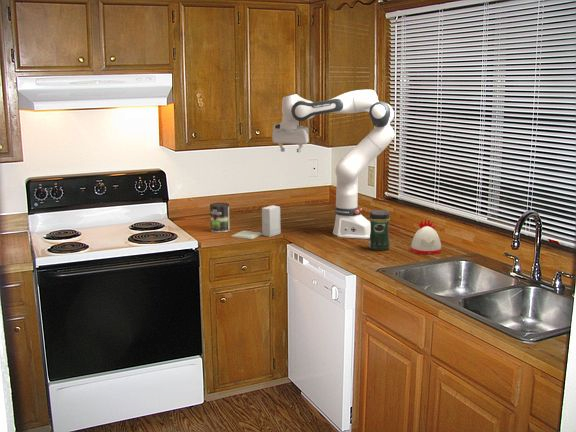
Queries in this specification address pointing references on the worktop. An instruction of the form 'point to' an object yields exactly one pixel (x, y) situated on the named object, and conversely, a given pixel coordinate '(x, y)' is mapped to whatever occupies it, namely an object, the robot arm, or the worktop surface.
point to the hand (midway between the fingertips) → (290, 151)
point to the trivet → (247, 234)
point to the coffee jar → (379, 230)
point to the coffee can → (219, 217)
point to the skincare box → (271, 221)
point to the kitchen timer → (426, 240)
